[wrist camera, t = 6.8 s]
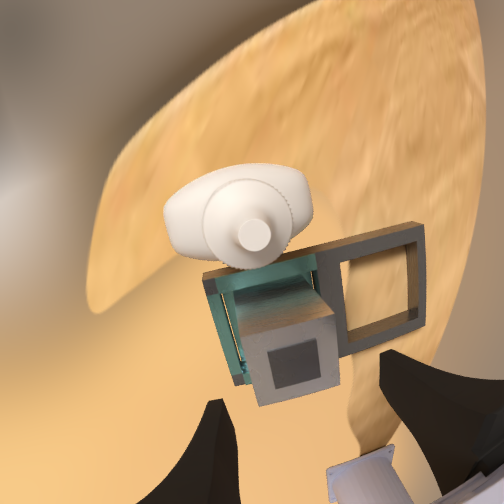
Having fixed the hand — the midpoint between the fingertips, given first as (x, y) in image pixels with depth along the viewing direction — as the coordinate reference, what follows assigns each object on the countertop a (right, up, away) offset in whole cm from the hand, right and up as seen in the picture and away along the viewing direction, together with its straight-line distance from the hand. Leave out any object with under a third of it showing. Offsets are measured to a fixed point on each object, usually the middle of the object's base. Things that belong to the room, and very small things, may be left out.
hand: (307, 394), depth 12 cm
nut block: (-1, +2, +8) cm, 8 cm away
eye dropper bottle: (-4, +9, +6) cm, 12 cm away
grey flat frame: (+3, +3, +8) cm, 9 cm away
